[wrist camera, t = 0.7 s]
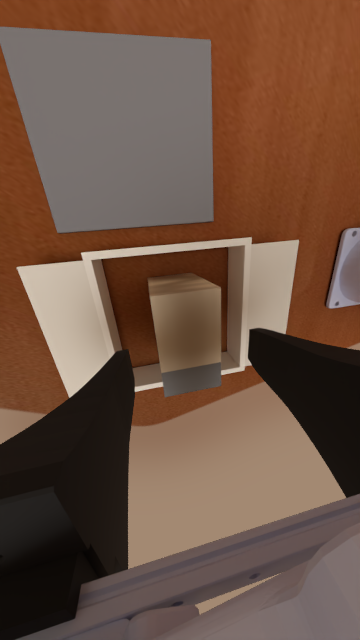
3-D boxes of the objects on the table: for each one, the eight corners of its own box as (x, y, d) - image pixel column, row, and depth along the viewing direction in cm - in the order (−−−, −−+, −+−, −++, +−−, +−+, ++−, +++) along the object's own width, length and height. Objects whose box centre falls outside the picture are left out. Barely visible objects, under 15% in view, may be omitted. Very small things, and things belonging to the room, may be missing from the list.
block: (191, 272, 17) (221, 287, 10) (195, 340, 19) (221, 385, 13) (147, 277, 16) (149, 296, 10) (157, 346, 19) (164, 397, 12)
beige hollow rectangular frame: (274, 235, 17) (300, 232, 14) (263, 348, 21) (281, 363, 19) (38, 256, 14) (13, 258, 11) (82, 381, 19) (72, 403, 16)
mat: (208, 46, 12) (210, 39, 11) (211, 221, 16) (213, 221, 15) (0, 34, 10) (-5, 26, 10) (59, 233, 14) (57, 233, 14)
